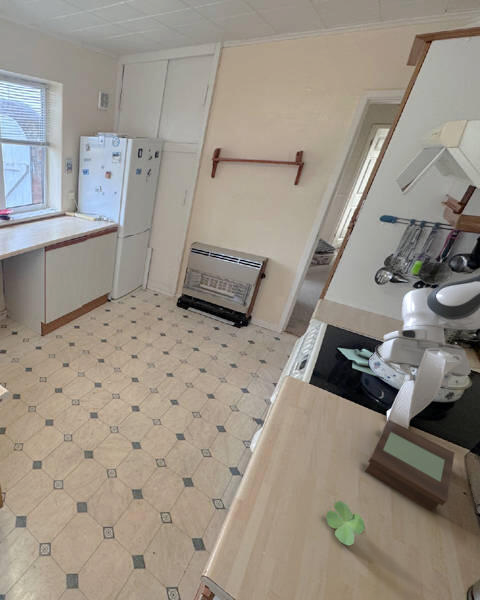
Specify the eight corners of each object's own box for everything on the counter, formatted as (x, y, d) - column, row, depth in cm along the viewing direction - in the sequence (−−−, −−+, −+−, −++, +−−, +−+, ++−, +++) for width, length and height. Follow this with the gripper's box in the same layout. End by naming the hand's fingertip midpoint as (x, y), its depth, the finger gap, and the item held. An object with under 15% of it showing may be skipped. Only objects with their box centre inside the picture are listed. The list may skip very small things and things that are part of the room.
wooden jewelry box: (380, 431, 98) (388, 419, 96) (443, 464, 88) (454, 452, 86) (361, 470, 85) (370, 457, 83) (434, 514, 76) (446, 501, 73)
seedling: (339, 542, 73) (325, 537, 71) (338, 503, 76) (324, 497, 74) (380, 556, 67) (366, 551, 65) (377, 513, 71) (363, 506, 68)
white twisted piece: (413, 435, 97) (470, 361, 85) (382, 421, 101) (432, 349, 89) (411, 420, 103) (464, 349, 90) (381, 408, 107) (428, 338, 94)
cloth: (404, 388, 117) (407, 383, 116) (333, 360, 130) (335, 355, 129) (403, 364, 131) (406, 359, 130) (339, 341, 144) (341, 337, 143)
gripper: (454, 348, 99) (459, 393, 95) (377, 334, 104) (378, 376, 100) (475, 344, 93) (480, 392, 89) (392, 329, 98) (393, 374, 94)
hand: (425, 384), depth 94 cm, fingers closed on white twisted piece, 6 cm apart
